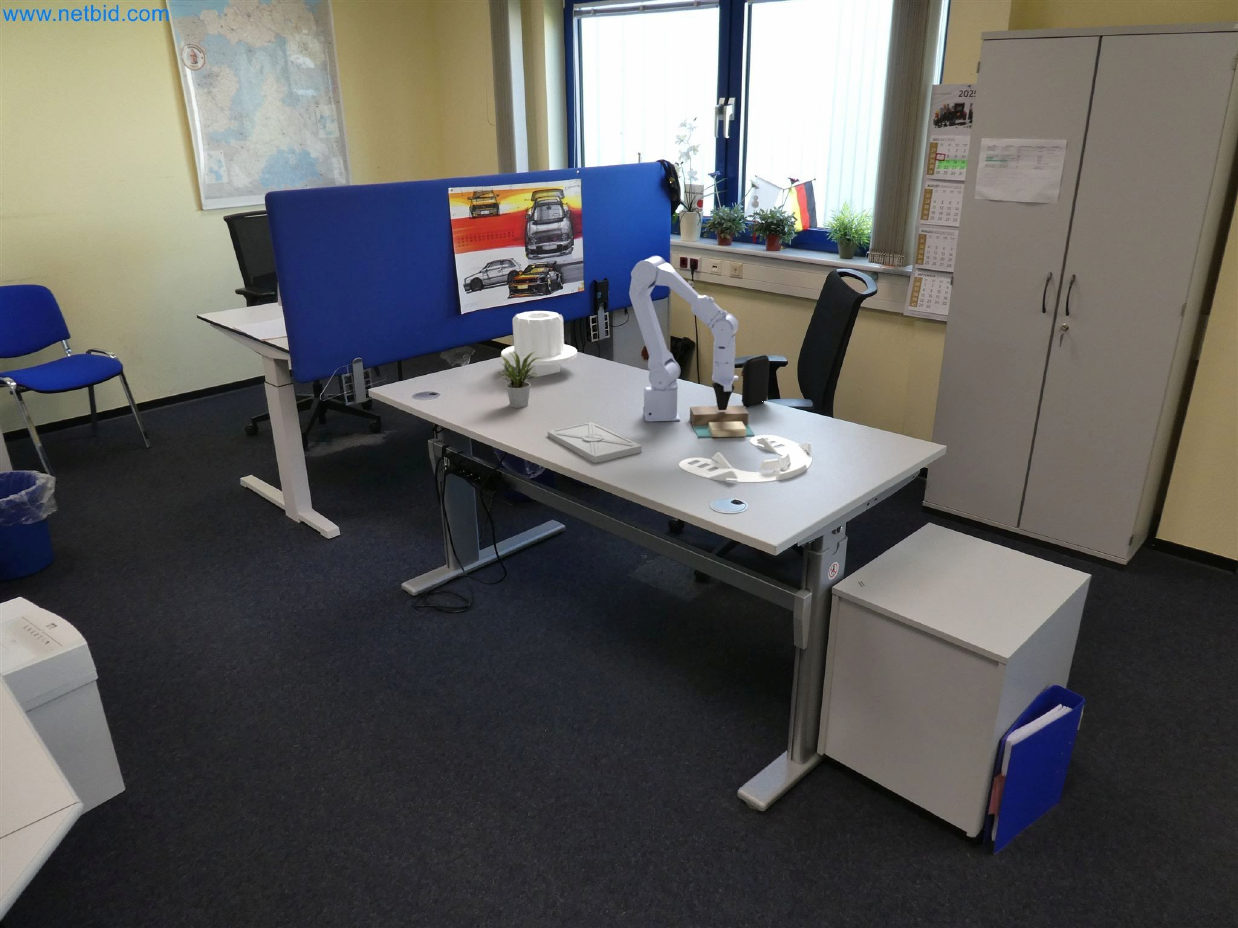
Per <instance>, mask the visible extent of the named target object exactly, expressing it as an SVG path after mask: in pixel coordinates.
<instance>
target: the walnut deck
mask: <svg viewBox="0 0 1238 928" xmlns="http://www.w3.org/2000/svg"><path fill="white" fill-rule="evenodd" d="M689 420H690V422H691V425H692V427H693V428H694V426H709V422H739V421H742V422H743V424H744V425H749V412H748V410H747V409H746V407H744V406H743V404H742V405H728V406H727V409H726V410H718V407H717V405H713V406H712V405H708V406H707V405H706V406H689Z"/></svg>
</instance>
